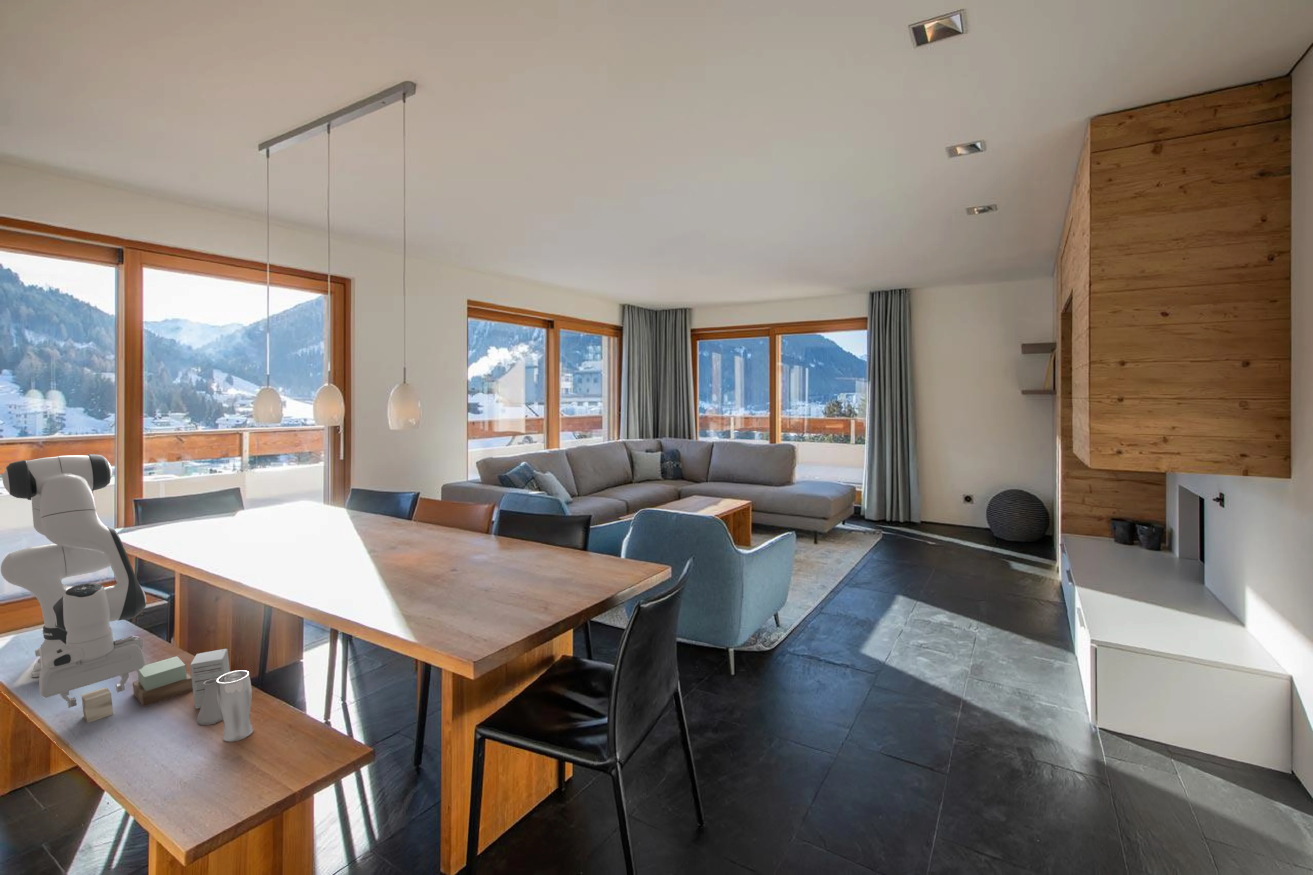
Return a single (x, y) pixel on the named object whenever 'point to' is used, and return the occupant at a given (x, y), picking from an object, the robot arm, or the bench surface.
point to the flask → (209, 705)
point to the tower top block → (162, 673)
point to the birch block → (97, 704)
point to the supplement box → (207, 671)
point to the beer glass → (235, 704)
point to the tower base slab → (162, 691)
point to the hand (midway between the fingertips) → (97, 698)
